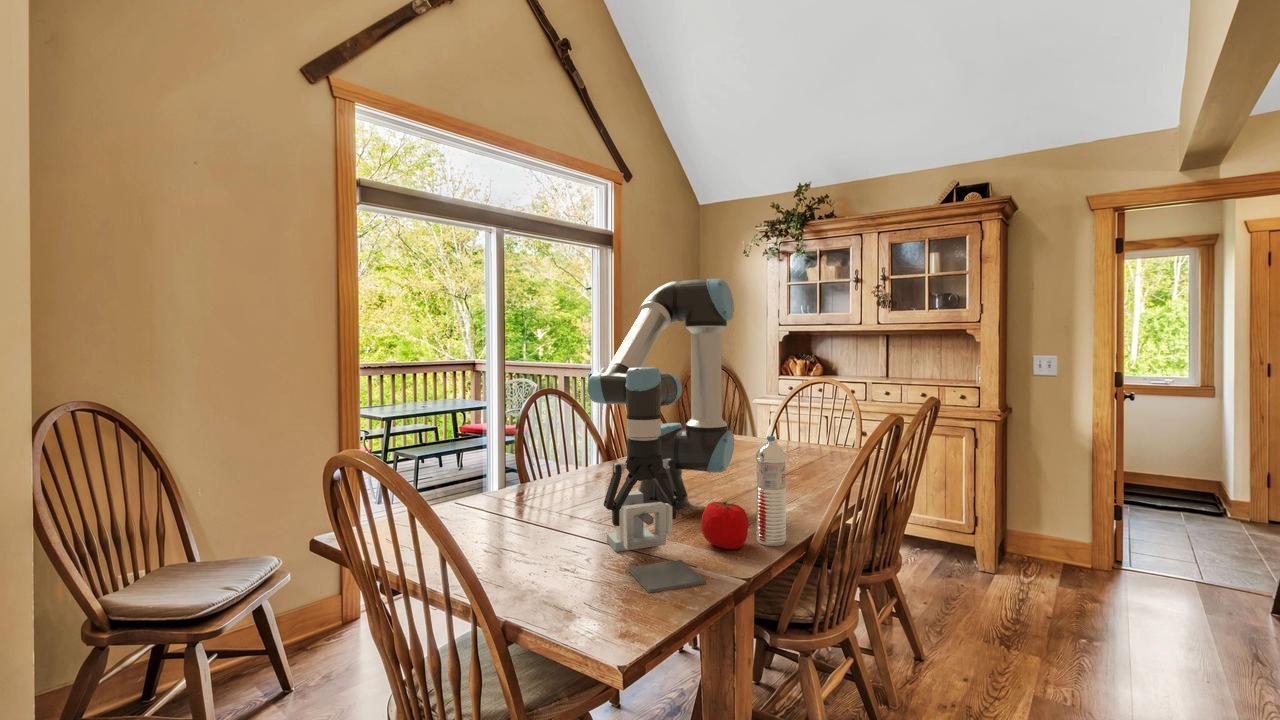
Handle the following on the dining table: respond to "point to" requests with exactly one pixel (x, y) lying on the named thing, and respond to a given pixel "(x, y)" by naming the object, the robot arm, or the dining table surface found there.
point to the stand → (639, 530)
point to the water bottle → (771, 494)
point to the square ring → (660, 525)
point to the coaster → (666, 576)
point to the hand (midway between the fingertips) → (644, 536)
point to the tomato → (725, 525)
